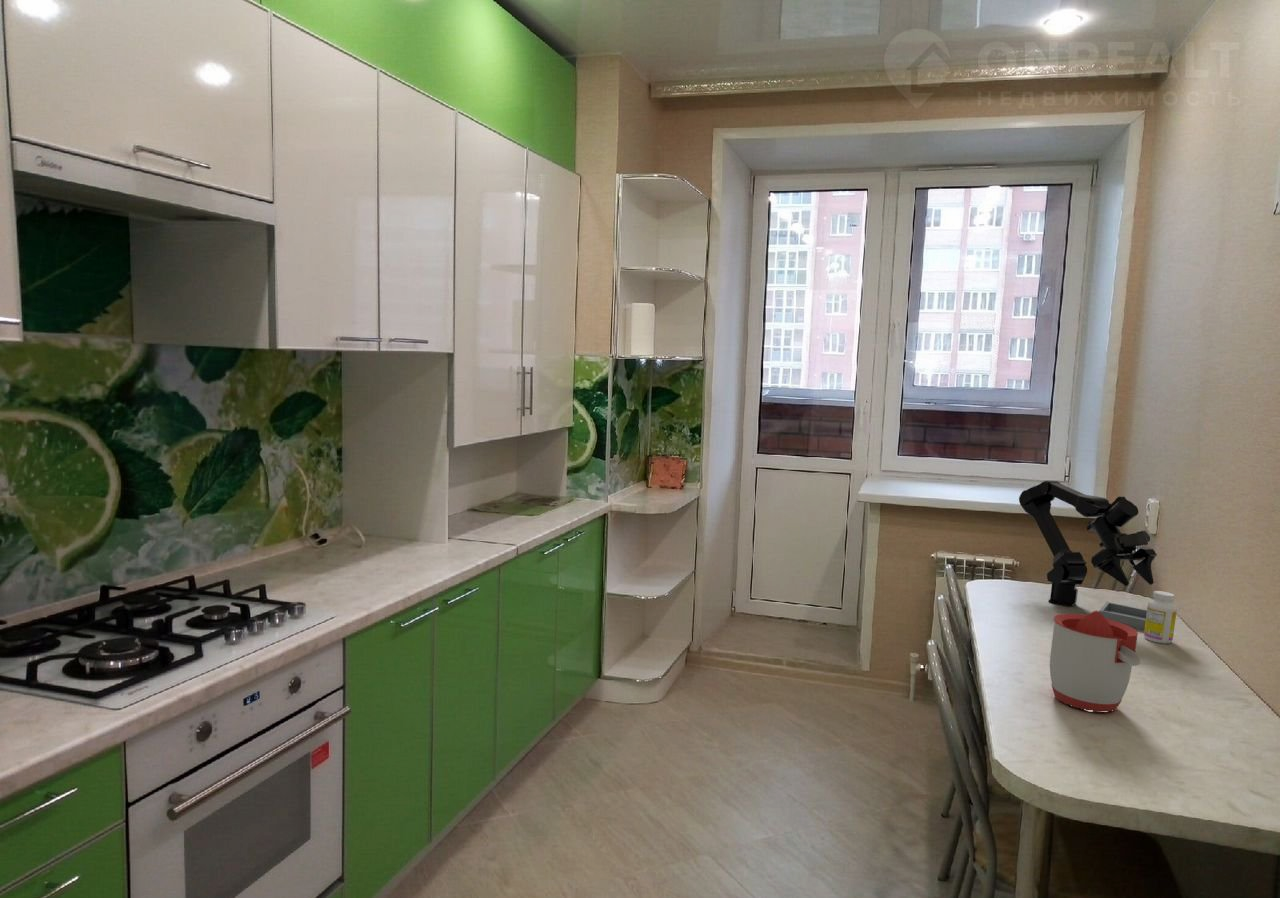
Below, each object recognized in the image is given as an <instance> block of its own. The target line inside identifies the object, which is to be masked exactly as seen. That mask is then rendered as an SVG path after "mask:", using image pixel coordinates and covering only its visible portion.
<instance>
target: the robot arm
mask: <svg viewBox="0 0 1280 898" xmlns="http://www.w3.org/2000/svg"><path fill="white" fill-rule="evenodd" d="M1055 498H1056V499H1058V500H1061V501H1062V502H1064V503H1066V504H1069V505H1070V506H1072V507H1074V508H1075V511H1076V512H1078V514H1080V515H1081V516H1082V517H1085V518H1095V519H1094V520H1089V521H1088V524H1087V527H1086V531H1089V532H1090V531H1091V532H1092V531H1095V534H1096V535H1097V537H1098V538H1099V540H1100V543H1099V544H1098V545H1099V547H1100V548H1102V549H1100V550H1099V551H1098V552H1096V553H1095V554H1094V555H1093V556H1092V557H1091V560H1090V561H1091V562H1090V563H1091V564H1092V566H1093V568H1095V569H1096V568H1098V570H1099V571H1103V572H1104V573H1106V574H1107V575H1109V576H1110V577H1112V578H1114V579H1115V580H1117V581H1118V582H1119V583H1120V584H1122V585H1124V586H1126V587H1127V586H1129V585H1130V583H1129V581H1128V578H1127V576H1126V574H1125V572H1124V571H1123V569H1122V567H1121V562H1122V561H1123V562H1125V561H1126V562H1127V561H1129V563H1130V564H1131V565H1132V569H1133V570H1135V572H1136V573H1137V574H1138V575H1139V576H1140V577H1141V578H1142V579H1143V580H1144V581H1145V582H1146V583H1147V584H1148V585H1149V586H1151V585H1153V584H1154V581H1155V580H1154V577H1153V572H1152V571H1153V570H1152V562H1153V561H1154V560H1155V558H1156V557H1157V556H1158V555H1157V553H1156V551H1155V549H1154V548H1151V547H1143V548H1139V549H1138V547H1139V546H1147V545H1149V543H1150V541H1151V536H1150V534H1148V532H1147V531H1146V530H1141V531H1136V532H1134V533H1129V534H1128V533H1124V532H1123V533H1122V531H1121V529H1120V528H1122V527H1124V526H1127V524H1128V523H1129V522H1130V521H1131V520H1133V519H1134V518H1136V517H1137V516H1138V515H1139V509H1138V507H1137V505H1135V504H1134V503H1133V502H1132V501H1130V500H1128V499H1127V498H1126V496H1117V497H1116V498H1115V499H1114V500H1113V501H1112V502H1111V503H1110V502H1109V501H1110V500H1108V499H1107V498H1106V497H1101V496H1097V495H1089V494H1084V493H1083V492H1081V491H1078V490H1075V489H1073V488H1072V487H1069V486H1068V485H1064V484H1062V483H1061V482H1060V481H1057V480H1044V481H1042V482H1041V483H1039V484H1037V485H1034V486H1032V487H1029V488H1027V489H1024V490H1022V492H1021V493H1020V495H1019V497H1018V501H1019V502H1018V503H1019V505H1020V506H1021V508H1022V509H1023V510H1024V512H1025V513H1027V514H1028V515H1029V516H1030V517H1032V518H1033V519H1034V521H1035V523H1036V524H1037V526H1038V528H1039V530H1040V532H1041V534H1042V535H1043V538H1044V540H1045V542H1046V543H1047V546H1048V547H1049V549H1050V551H1051V553H1052V555H1053V559H1052V566H1053V568H1052V569H1051V570H1050V571H1048V572H1047V573H1046V578H1047V581H1048V582H1050V583H1051V589H1050V596H1049V597H1050V598H1049V599H1048V603H1052V604H1053V603H1054V604H1057V605H1062V606H1066V607H1073V606H1074V605H1075V604H1077V601H1078V600H1077V599H1078V596H1079V595H1078V593H1079V589H1078V588H1077V586H1078V585H1080V586H1081V585H1082V584H1084V583H1083V582H1084V580H1085V578H1086V576H1087V574H1088V567H1087V562H1086V561H1085V559H1084V558H1083V555H1082V553H1081V552H1080V551H1072V550H1071V549H1070V546H1069V545H1068V542H1067V541H1066V540H1065V537H1064V536H1063V534H1062V532H1061V530H1060V527H1059V526H1058V524H1057V522H1056V521H1055V519H1054V517H1053V515H1052V513H1051V507H1052V502H1053V501H1054V500H1055ZM1137 549H1138V550H1137ZM1133 551H1135V552H1134V553H1133Z"/></svg>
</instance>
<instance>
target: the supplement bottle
mask: <svg viewBox="0 0 1280 898" xmlns="http://www.w3.org/2000/svg"><path fill="white" fill-rule="evenodd" d="M1152 596H1153V599H1151V600H1149V602H1148V603H1147V607H1146V610H1147V615H1146V622H1145V630H1144V631H1143V637H1144V638H1145V639H1146V640H1148V641H1150V642H1153V643H1157V644H1165V645H1166V644H1172V643H1173V641H1174V640H1173V639H1174V633H1175V627H1176V618H1177V612H1178V608H1177V605H1176V604H1175V603H1173V602H1174V600H1175V594H1173V593H1171V592H1169V591H1161V590H1153V595H1152Z"/></svg>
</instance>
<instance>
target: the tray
mask: <svg viewBox="0 0 1280 898" xmlns="http://www.w3.org/2000/svg"><path fill="white" fill-rule="evenodd" d="M1098 611H1099V612H1100V613H1101V614H1102V615H1103V617H1104V618H1106V619H1110V620H1113V621H1117V622H1120V623H1122V624H1125V625H1127V626H1130V627H1131V628H1133V629H1135V630H1139V631H1143V632H1144V630H1145V622H1146V615H1147V609H1143V608H1139V607H1134V606H1131V605H1130V606H1129V605H1125V604H1120V603H1114V602H1109V601H1106V602H1105V603H1104V604H1103V606H1102V607H1100V609H1099V610H1098Z"/></svg>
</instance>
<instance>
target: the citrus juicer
mask: <svg viewBox="0 0 1280 898" xmlns="http://www.w3.org/2000/svg"><path fill="white" fill-rule="evenodd" d="M1052 619H1053V621H1054V623H1053V631H1052V639H1051V647H1050V655H1049V673H1050V680H1051V688H1052V692H1053V696H1054V697H1055V698H1056V699H1057V700H1058V699H1059V700H1058V701H1059V702H1061V701H1062V702H1061V703H1063V702H1064V703H1063V704H1065V703H1066V704H1065V705H1067V704H1069V705H1072V706H1074V707H1073V708H1075V707H1077V708H1076V709H1078V708H1082V709H1086V710H1093V711H1112V710H1114V711H1116V710H1117V708H1118V707H1119V706H1120V704H1121V703H1122V700H1123V698H1124V695H1125V693H1126V691H1127V689H1128V686H1129V683H1130V680H1131V673H1132V667H1137V666H1139V665H1140V664H1141V657H1140V656H1139V655H1138V653H1136V646H1137V640H1138V636H1139V635H1138V631H1137V629H1133V628H1131V627H1130V626H1127V625H1125V624H1122V623H1120V622H1117V621H1113V620H1110V619H1106V618H1104V617H1103V615H1102V614H1101V613H1100V612H1099V610H1094V611H1093V610H1092V612H1090V613H1088V614H1083V613H1060V614H1056V615H1054V617H1053V618H1052ZM1069 705H1068V706H1069ZM1072 706H1071V707H1072ZM1082 709H1081V710H1082ZM1115 709H1116V710H1115ZM1112 712H1113V711H1112Z"/></svg>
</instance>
